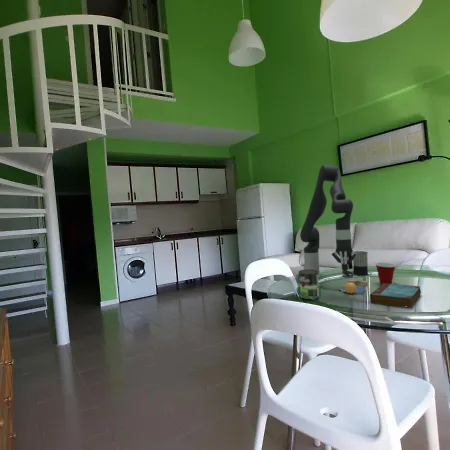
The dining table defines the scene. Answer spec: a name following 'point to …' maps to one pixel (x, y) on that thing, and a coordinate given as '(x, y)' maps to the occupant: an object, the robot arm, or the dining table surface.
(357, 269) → the milk frother
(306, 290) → the coffee can
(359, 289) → the disc
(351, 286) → the ball
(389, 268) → the plastic cup
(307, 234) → the robot arm
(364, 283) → the stopper bar
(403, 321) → the dining table surface
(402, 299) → the book
